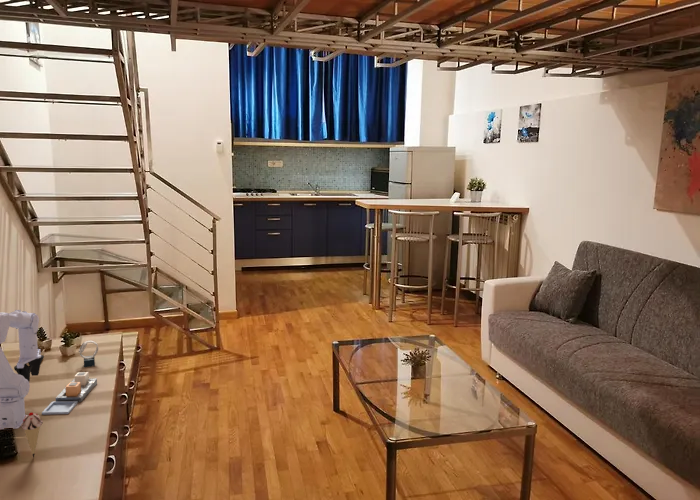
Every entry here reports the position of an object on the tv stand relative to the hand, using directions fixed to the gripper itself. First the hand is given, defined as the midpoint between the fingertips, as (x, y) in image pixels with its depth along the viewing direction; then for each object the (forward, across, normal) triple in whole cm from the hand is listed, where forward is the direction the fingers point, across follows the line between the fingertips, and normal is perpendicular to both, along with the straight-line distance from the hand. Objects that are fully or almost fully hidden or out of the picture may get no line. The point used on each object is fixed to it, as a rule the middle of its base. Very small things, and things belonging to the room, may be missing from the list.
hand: (30, 379), depth 195 cm
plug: (+10, +4, -13) cm, 17 cm away
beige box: (+10, +14, -13) cm, 21 cm away
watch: (+10, +40, -7) cm, 42 cm away
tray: (+10, -5, -12) cm, 16 cm away
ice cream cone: (+10, -38, -17) cm, 43 cm away
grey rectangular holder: (+10, +9, -13) cm, 19 cm away
